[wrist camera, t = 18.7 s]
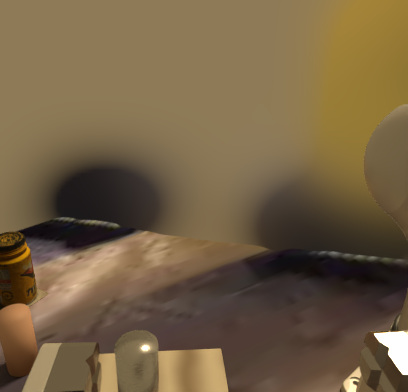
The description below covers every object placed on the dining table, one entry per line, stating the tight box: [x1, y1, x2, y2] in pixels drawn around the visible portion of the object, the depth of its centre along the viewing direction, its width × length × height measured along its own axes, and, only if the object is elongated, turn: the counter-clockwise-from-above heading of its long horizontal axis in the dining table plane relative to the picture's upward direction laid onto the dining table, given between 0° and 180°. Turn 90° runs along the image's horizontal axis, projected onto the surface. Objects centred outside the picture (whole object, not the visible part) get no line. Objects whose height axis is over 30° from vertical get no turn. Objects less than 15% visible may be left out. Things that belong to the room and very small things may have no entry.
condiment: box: [0, 232, 48, 310], centre depth 60 cm, size 7×8×12 cm
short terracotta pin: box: [0, 304, 38, 377], centre depth 48 cm, size 4×4×9 cm
